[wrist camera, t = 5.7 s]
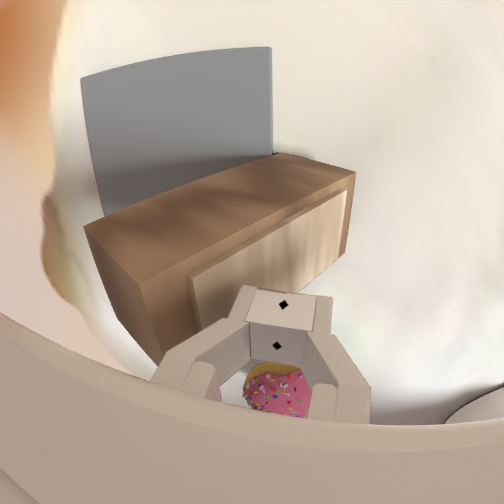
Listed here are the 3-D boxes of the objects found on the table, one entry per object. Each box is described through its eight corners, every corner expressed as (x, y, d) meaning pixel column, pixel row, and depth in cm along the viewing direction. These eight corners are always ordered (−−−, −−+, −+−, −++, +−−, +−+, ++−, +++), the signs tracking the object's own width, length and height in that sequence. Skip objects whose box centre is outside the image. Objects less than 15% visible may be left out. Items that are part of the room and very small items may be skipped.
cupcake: (254, 369, 30) (220, 471, 21) (259, 315, 26) (214, 443, 16) (332, 384, 29) (316, 490, 19) (357, 334, 24) (347, 468, 14)
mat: (271, 48, 14) (269, 46, 14) (270, 296, 24) (269, 301, 23) (85, 77, 17) (80, 78, 17) (125, 271, 27) (122, 275, 27)
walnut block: (360, 173, 14) (144, 289, 7) (348, 254, 17) (181, 391, 10) (280, 152, 18) (83, 226, 10) (279, 224, 20) (117, 318, 13)
